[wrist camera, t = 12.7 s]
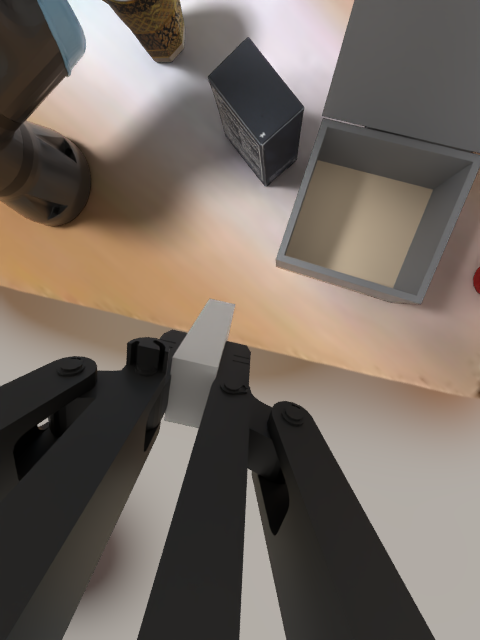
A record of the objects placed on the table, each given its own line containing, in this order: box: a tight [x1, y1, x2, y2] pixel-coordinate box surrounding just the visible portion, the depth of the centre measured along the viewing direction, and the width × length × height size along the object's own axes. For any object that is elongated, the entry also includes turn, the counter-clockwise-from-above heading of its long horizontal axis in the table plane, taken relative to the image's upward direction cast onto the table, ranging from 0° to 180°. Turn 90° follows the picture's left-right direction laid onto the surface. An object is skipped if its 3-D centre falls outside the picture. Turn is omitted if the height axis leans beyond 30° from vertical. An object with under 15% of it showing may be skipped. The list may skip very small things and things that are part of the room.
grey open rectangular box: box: [276, 118, 480, 304], centre depth 33 cm, size 18×17×8 cm
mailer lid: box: [322, 0, 480, 153], centre depth 20 cm, size 18×17×1 cm
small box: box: [208, 37, 304, 186], centre depth 33 cm, size 11×6×10 cm, turn 38°
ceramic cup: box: [103, 0, 185, 62], centre depth 34 cm, size 13×10×10 cm
